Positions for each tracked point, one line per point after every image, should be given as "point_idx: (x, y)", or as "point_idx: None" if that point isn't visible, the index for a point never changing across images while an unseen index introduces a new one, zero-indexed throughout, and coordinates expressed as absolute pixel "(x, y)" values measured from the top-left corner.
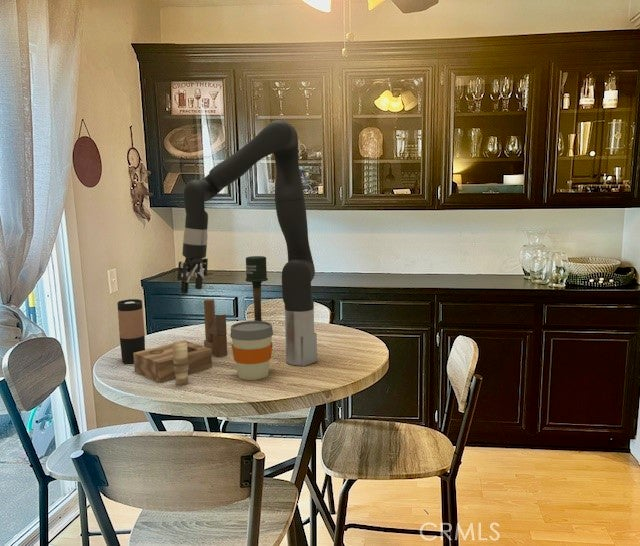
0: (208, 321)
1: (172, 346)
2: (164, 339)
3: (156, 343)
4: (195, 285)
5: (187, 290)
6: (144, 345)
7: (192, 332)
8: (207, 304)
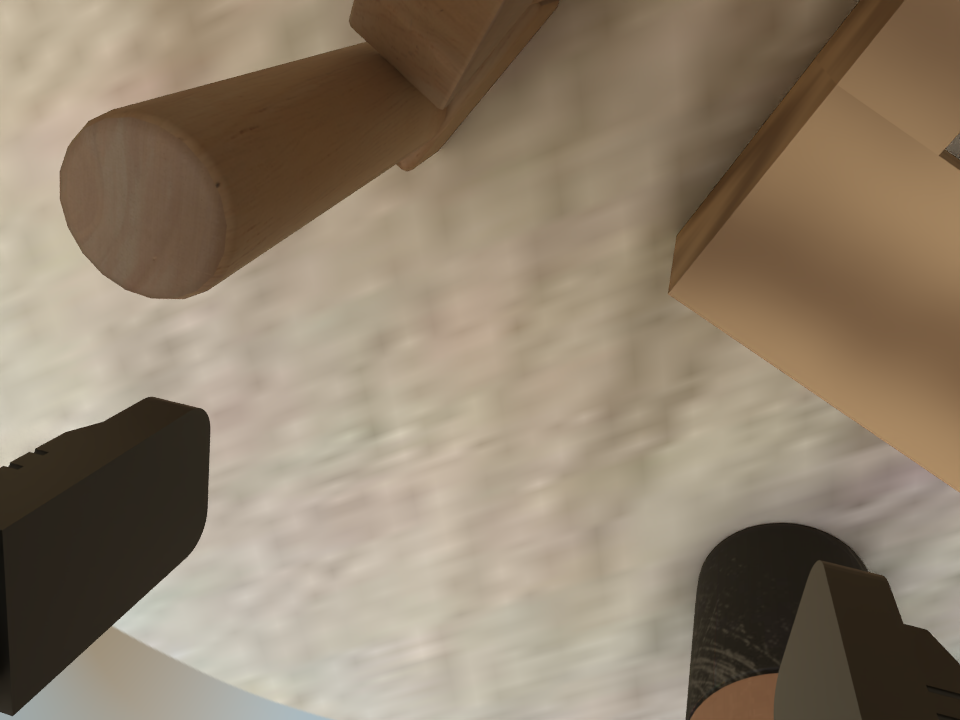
0: (371, 130)
1: (919, 335)
2: (236, 555)
3: (336, 576)
4: (161, 575)
5: (872, 605)
6: (778, 604)
7: (22, 425)
8: (257, 193)
